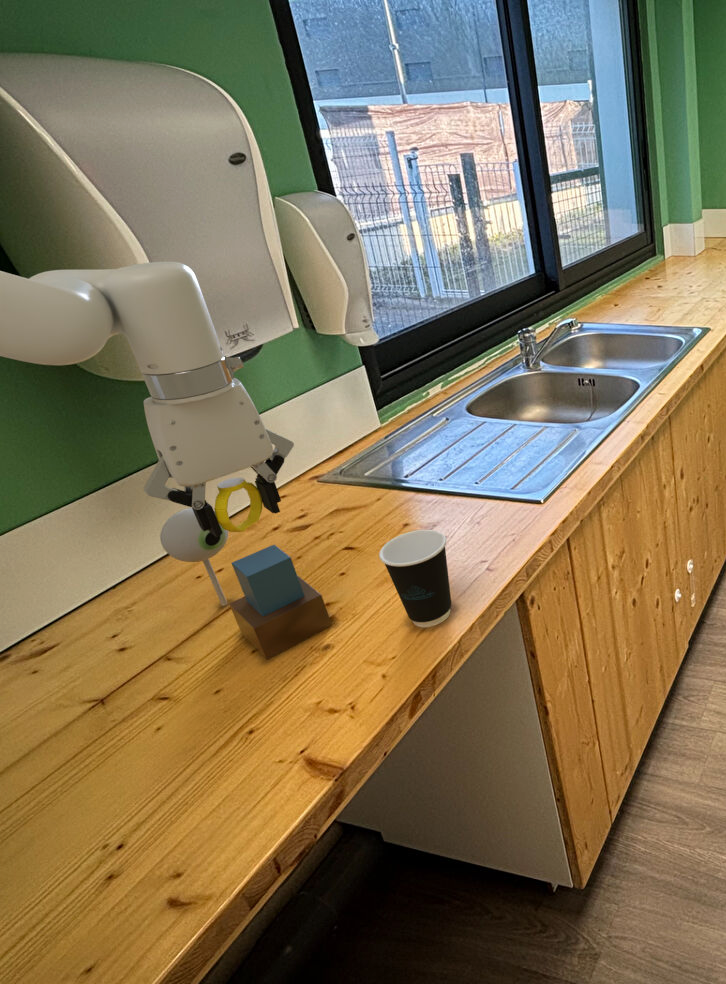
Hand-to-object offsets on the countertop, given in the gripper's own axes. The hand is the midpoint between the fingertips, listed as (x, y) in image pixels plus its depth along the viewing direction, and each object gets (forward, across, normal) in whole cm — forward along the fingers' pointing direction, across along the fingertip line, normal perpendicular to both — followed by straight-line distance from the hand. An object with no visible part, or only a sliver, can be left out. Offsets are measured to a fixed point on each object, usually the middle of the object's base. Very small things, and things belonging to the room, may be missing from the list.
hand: (244, 519), depth 84 cm
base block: (+17, 0, 0) cm, 17 cm away
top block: (+12, 0, 0) cm, 12 cm away
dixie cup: (+17, -13, +13) cm, 25 cm away
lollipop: (+17, +3, -13) cm, 22 cm away
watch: (+1, 0, 0) cm, 1 cm away
